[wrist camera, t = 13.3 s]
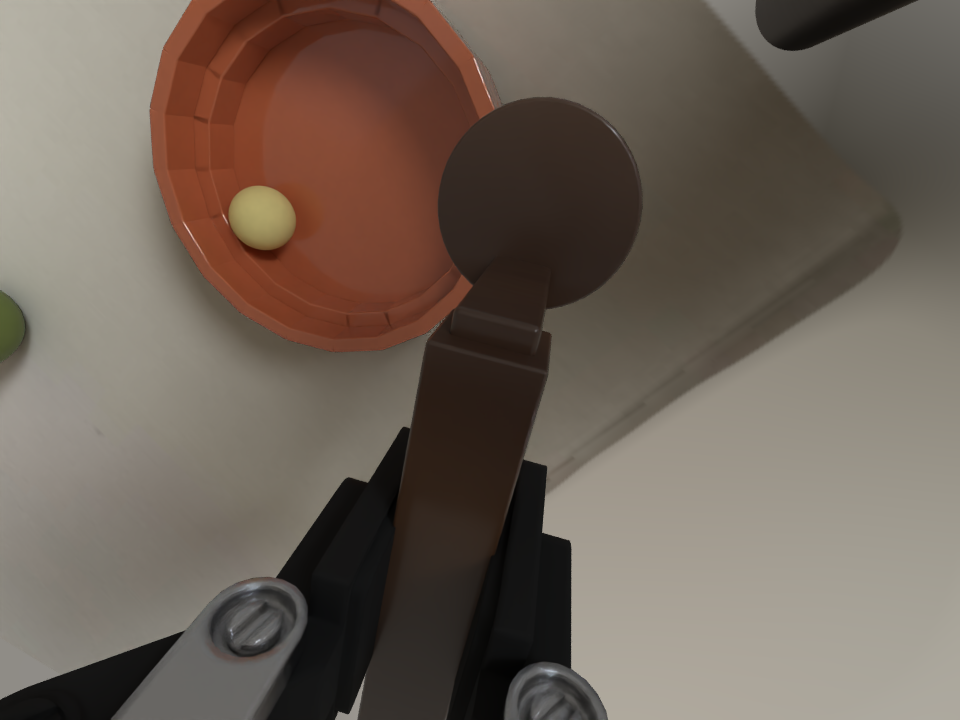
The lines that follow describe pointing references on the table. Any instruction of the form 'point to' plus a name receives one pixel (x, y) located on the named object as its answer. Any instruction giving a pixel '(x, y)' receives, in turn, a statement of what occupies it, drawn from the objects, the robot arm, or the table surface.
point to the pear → (10, 326)
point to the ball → (262, 217)
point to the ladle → (491, 371)
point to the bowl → (319, 158)
